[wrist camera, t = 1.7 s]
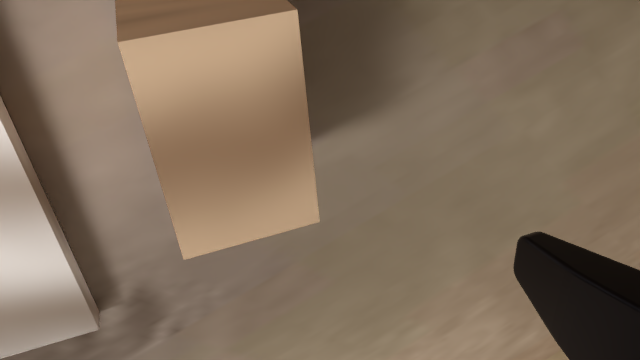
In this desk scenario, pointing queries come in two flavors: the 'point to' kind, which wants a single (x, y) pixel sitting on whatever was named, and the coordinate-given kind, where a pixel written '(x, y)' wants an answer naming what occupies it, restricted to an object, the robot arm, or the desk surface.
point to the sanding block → (223, 115)
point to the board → (35, 260)
